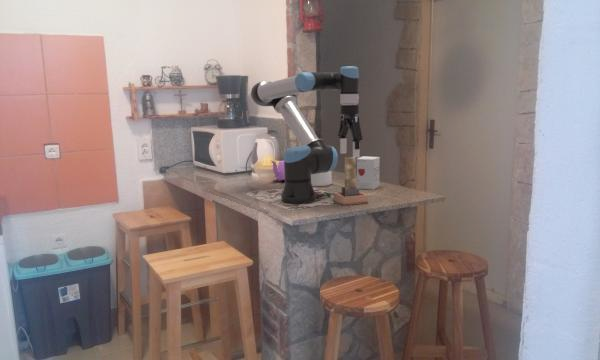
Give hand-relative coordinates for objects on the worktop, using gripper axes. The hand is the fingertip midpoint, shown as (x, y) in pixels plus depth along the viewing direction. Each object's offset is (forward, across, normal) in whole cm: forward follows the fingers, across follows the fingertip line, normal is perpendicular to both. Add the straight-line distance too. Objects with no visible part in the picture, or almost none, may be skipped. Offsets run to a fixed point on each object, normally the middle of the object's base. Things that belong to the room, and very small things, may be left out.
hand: (349, 155), depth 204 cm
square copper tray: (+20, 0, 0) cm, 20 cm away
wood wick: (+19, 0, 0) cm, 19 cm away
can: (+21, +43, -2) cm, 48 cm away
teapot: (+21, +60, +11) cm, 65 cm away
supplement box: (+20, +25, -21) cm, 38 cm away
